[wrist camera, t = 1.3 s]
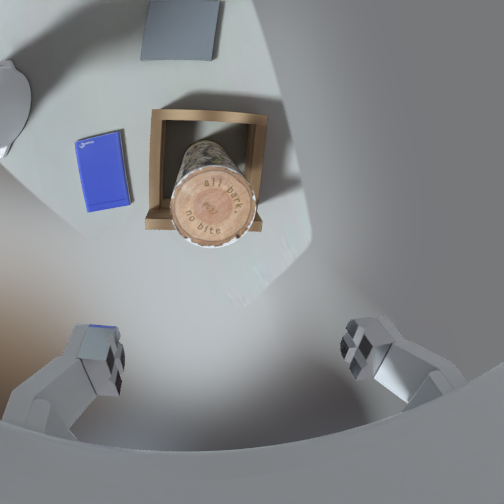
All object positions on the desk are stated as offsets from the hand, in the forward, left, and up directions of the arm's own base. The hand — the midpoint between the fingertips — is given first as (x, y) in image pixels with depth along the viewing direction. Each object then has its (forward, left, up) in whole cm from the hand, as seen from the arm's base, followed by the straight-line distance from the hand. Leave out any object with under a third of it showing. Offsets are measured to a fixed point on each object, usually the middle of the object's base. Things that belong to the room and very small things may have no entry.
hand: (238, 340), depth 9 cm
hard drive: (-17, -2, -40) cm, 44 cm away
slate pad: (-6, +22, -39) cm, 45 cm away
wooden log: (0, 0, -40) cm, 40 cm away
